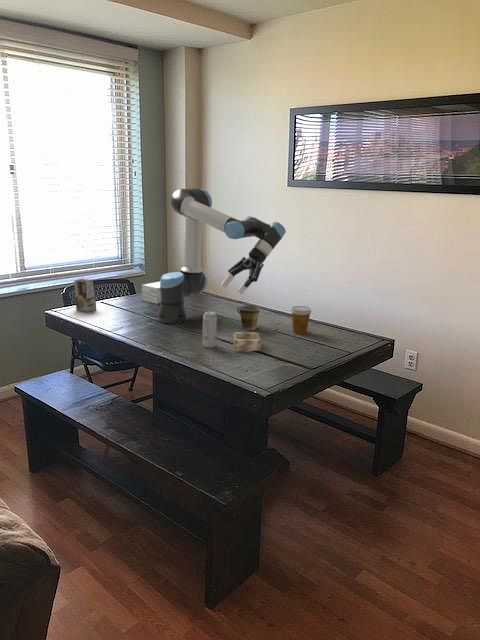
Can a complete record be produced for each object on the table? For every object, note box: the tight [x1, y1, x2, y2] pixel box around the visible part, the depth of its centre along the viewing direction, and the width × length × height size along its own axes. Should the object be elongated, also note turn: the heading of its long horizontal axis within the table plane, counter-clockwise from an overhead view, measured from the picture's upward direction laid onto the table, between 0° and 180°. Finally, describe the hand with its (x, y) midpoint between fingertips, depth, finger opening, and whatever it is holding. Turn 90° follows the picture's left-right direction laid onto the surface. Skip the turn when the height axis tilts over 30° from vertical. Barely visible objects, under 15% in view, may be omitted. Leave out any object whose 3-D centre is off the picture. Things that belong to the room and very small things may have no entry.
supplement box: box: [141, 281, 161, 305], centre depth 306 cm, size 17×13×9 cm
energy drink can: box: [202, 311, 218, 349], centre depth 228 cm, size 6×6×15 cm
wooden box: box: [232, 331, 261, 352], centre depth 229 cm, size 11×11×5 cm
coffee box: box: [73, 278, 97, 313], centre depth 279 cm, size 9×6×16 cm
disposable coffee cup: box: [290, 305, 312, 335], centre depth 251 cm, size 10×10×12 cm
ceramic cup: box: [236, 305, 260, 331], centre depth 257 cm, size 13×10×10 cm
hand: (231, 289), depth 230 cm, fingers open, 13 cm apart
